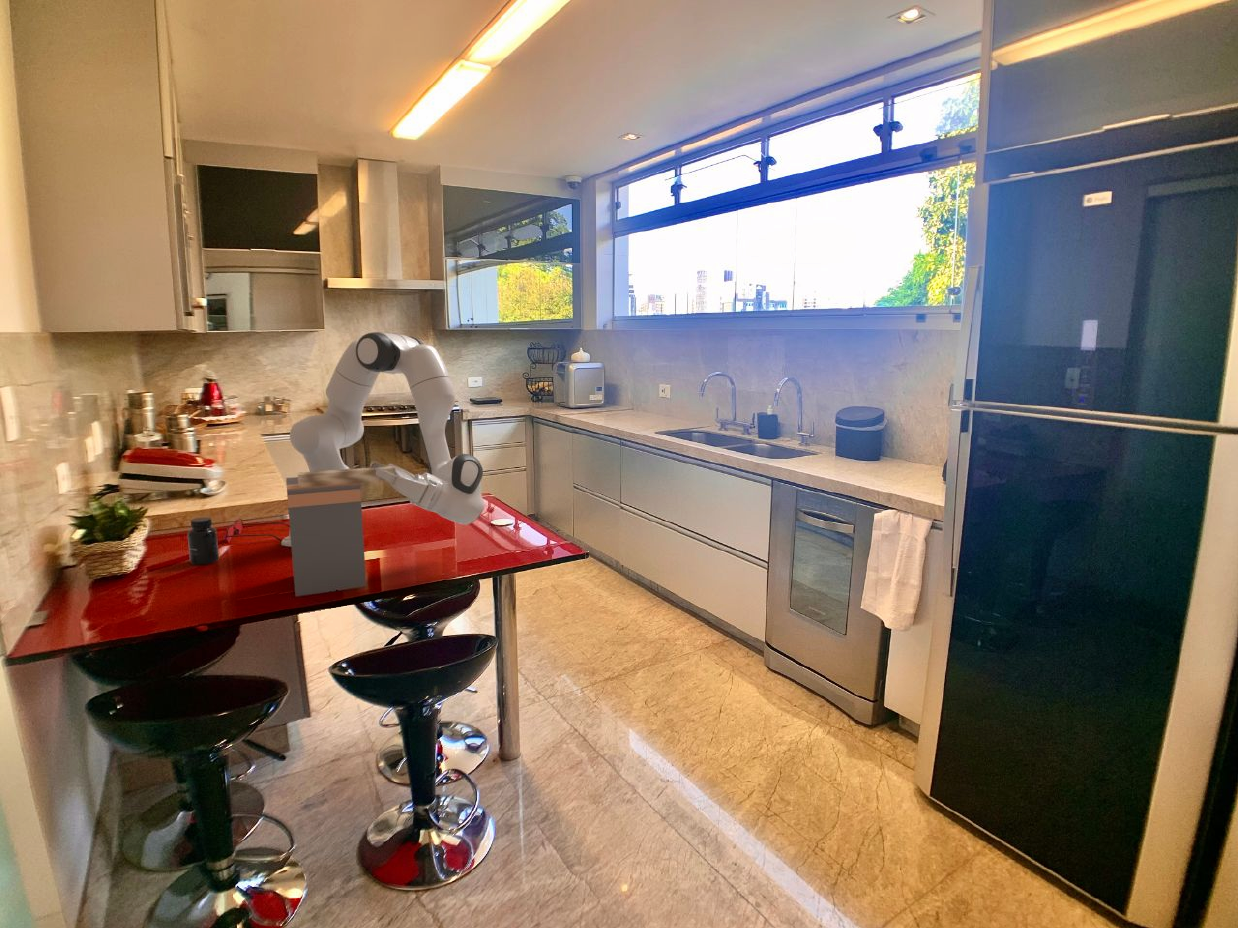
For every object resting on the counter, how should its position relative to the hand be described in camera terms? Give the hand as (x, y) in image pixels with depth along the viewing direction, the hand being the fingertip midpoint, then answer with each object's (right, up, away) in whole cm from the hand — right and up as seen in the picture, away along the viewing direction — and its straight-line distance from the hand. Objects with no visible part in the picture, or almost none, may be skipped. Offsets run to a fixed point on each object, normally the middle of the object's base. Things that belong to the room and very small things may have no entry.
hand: (373, 467), depth 168 cm
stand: (-13, -29, +4) cm, 32 cm away
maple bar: (-6, -4, -2) cm, 7 cm away
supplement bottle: (-53, -26, +18) cm, 62 cm away
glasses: (-50, -22, +42) cm, 69 cm away
